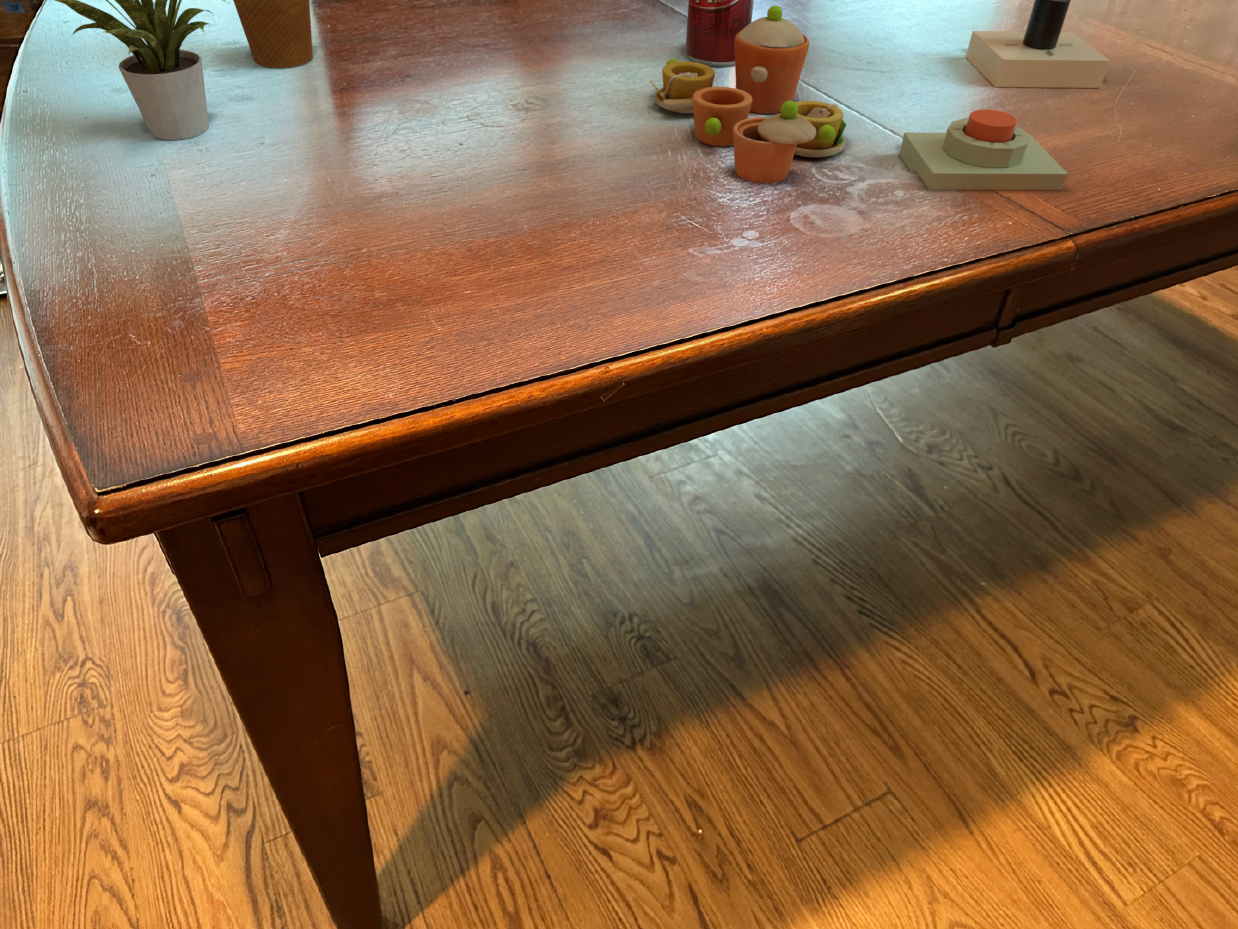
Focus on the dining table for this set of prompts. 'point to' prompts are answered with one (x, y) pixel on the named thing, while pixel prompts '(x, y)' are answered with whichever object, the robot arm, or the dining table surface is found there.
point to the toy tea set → (757, 102)
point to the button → (990, 126)
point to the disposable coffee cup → (277, 31)
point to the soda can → (715, 29)
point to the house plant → (158, 63)
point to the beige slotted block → (1036, 61)
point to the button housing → (980, 161)
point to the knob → (1045, 23)
